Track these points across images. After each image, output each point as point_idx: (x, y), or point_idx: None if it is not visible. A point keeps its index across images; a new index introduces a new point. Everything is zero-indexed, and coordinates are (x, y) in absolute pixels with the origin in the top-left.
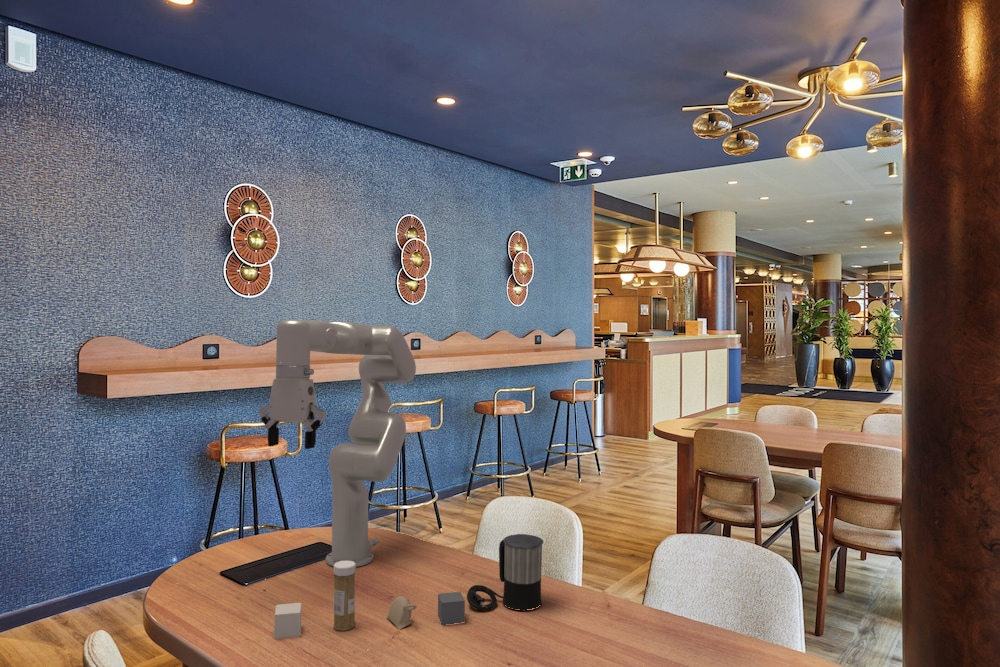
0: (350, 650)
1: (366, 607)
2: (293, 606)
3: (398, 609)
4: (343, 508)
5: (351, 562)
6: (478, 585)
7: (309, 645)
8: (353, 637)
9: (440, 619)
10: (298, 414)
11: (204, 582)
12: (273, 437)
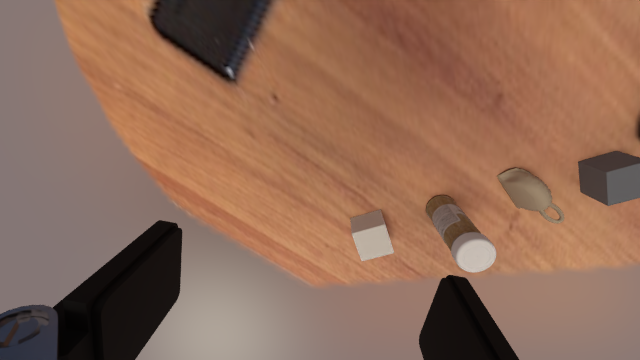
0: None
1: (462, 144)
2: (378, 236)
3: (529, 205)
4: None
5: (489, 252)
6: None
7: (407, 254)
8: None
9: (583, 185)
10: None
11: (157, 77)
12: (150, 315)
